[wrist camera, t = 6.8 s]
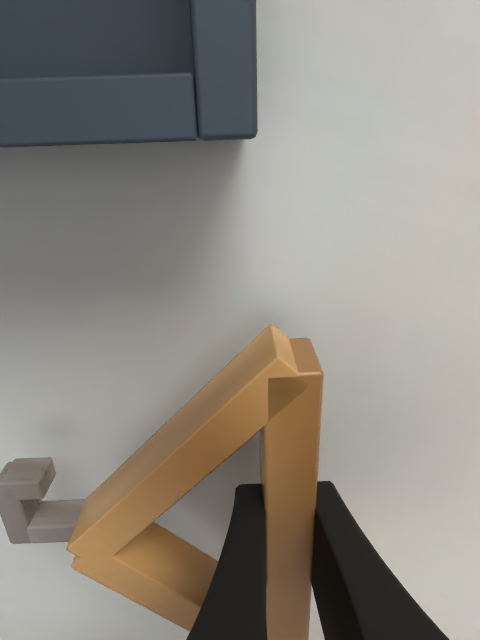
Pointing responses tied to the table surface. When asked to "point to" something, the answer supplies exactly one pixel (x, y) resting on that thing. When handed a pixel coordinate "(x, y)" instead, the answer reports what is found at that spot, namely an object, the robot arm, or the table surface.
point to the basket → (126, 71)
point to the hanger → (181, 476)
